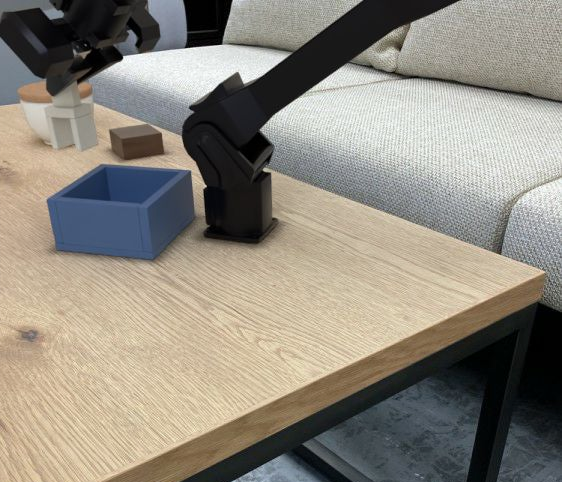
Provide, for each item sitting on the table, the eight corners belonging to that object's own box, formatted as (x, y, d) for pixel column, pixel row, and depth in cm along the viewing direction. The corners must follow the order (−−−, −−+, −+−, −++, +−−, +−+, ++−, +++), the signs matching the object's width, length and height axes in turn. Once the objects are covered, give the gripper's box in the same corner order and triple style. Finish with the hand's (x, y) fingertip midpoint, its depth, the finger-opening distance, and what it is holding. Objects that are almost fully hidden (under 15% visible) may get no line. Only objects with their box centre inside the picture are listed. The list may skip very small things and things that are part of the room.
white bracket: (99, 145, 79) (81, 53, 74) (81, 152, 77) (62, 58, 72) (70, 142, 81) (51, 53, 76) (52, 149, 79) (32, 57, 74)
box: (195, 217, 81) (191, 169, 77) (153, 260, 71) (147, 207, 68) (108, 209, 83) (101, 163, 80) (56, 250, 73) (45, 199, 70)
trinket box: (26, 135, 111) (12, 72, 106) (94, 128, 114) (84, 66, 109) (31, 153, 102) (16, 85, 97) (104, 145, 105) (94, 79, 100)
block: (164, 153, 102) (162, 132, 100) (124, 160, 99) (121, 138, 97) (150, 143, 106) (147, 123, 104) (111, 149, 104) (108, 129, 102)
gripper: (119, -97, 72) (61, 22, 83) (-19, -96, 58) (-68, 47, 69) (193, -12, 73) (126, 96, 84) (74, 8, 59) (12, 134, 70)
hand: (55, 91), depth 76 cm, fingers closed on white bracket
